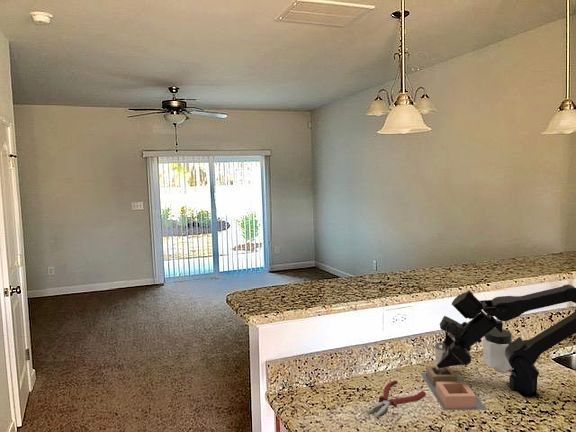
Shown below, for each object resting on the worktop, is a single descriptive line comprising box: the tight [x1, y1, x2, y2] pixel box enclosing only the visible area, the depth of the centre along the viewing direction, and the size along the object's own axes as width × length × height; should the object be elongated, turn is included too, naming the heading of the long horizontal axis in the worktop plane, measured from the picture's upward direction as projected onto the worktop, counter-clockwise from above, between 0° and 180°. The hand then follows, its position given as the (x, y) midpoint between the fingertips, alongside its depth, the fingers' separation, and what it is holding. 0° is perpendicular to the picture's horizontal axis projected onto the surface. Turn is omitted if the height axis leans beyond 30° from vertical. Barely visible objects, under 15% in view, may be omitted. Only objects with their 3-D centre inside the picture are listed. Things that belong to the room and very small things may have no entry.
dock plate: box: [420, 365, 488, 411], centre depth 131 cm, size 12×22×4 cm, turn 179°
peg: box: [434, 342, 448, 375], centre depth 137 cm, size 4×4×12 cm
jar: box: [482, 328, 513, 373], centre depth 147 cm, size 9×8×12 cm
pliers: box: [366, 380, 427, 418], centre depth 126 cm, size 12×20×3 cm, turn 134°
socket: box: [436, 380, 477, 409], centre depth 125 cm, size 8×8×4 cm
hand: (437, 360), depth 137 cm, fingers open, 9 cm apart
